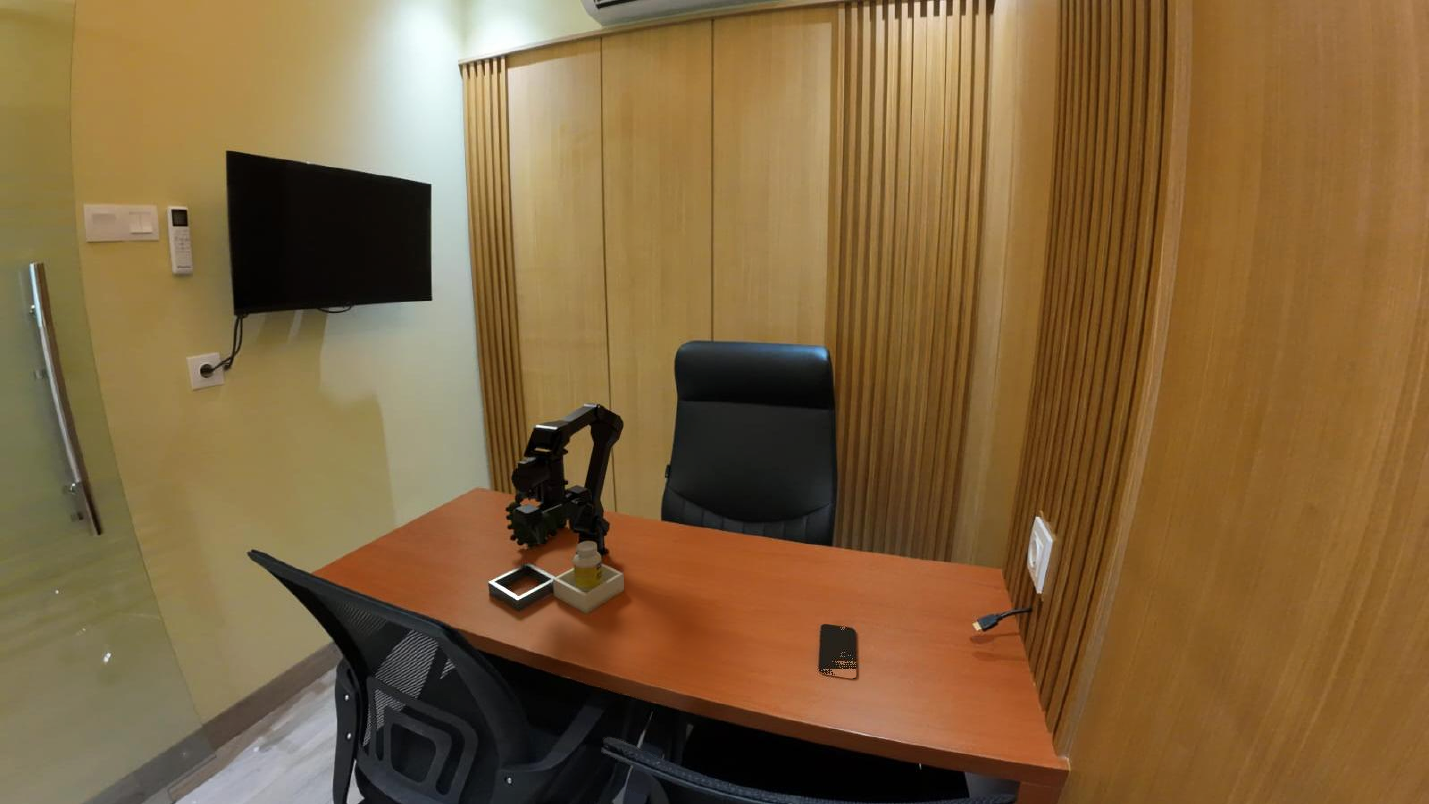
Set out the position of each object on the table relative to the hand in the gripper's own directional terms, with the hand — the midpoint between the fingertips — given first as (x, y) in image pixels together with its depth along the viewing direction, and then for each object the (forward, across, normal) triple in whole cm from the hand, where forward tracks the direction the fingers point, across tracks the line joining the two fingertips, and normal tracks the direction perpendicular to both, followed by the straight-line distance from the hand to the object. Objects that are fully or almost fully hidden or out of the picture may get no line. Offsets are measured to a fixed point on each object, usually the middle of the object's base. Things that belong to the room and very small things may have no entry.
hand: (556, 536), depth 130 cm
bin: (+12, -1, +10) cm, 16 cm away
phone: (+13, -18, +66) cm, 70 cm away
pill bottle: (+11, -1, +10) cm, 15 cm away
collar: (+12, +8, -3) cm, 15 cm away
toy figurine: (+12, -12, -22) cm, 28 cm away
